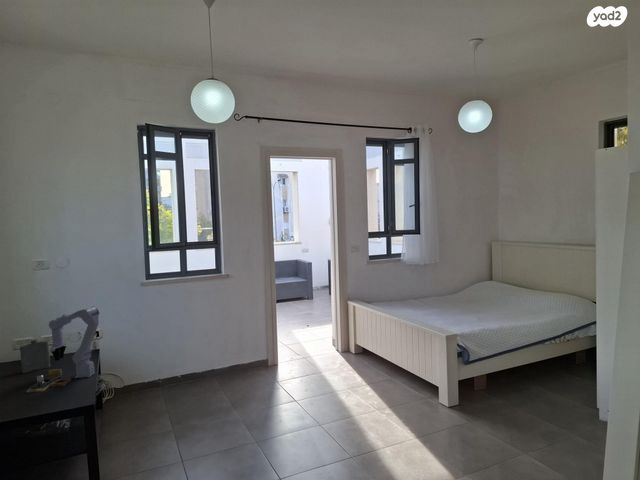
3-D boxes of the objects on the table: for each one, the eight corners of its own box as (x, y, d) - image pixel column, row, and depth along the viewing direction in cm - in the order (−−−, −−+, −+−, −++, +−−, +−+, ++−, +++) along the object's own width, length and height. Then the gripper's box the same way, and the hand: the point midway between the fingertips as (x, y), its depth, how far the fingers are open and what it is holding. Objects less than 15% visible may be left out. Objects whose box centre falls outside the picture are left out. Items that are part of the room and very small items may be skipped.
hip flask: (22, 373, 277) (19, 343, 276) (21, 371, 280) (18, 342, 279) (50, 366, 288) (48, 337, 287) (49, 365, 291) (47, 336, 290)
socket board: (54, 383, 255) (54, 381, 255) (43, 392, 243) (43, 389, 243) (39, 385, 255) (39, 382, 254) (26, 393, 243) (26, 390, 242)
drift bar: (49, 375, 264) (48, 369, 264) (62, 374, 265) (62, 368, 265) (29, 388, 245) (29, 381, 244) (44, 387, 245) (43, 380, 245)
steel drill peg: (46, 386, 251) (45, 374, 250) (42, 388, 247) (41, 376, 247) (39, 386, 250) (38, 375, 250) (36, 388, 247) (35, 377, 247)
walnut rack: (71, 381, 258) (70, 378, 258) (64, 386, 250) (63, 383, 250) (57, 382, 257) (57, 379, 257) (50, 387, 249) (49, 384, 249)
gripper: (57, 335, 276) (59, 355, 276) (44, 341, 261) (46, 363, 262) (68, 334, 276) (70, 355, 277) (56, 341, 262) (58, 362, 262)
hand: (59, 359), depth 269 cm, fingers open, 4 cm apart
